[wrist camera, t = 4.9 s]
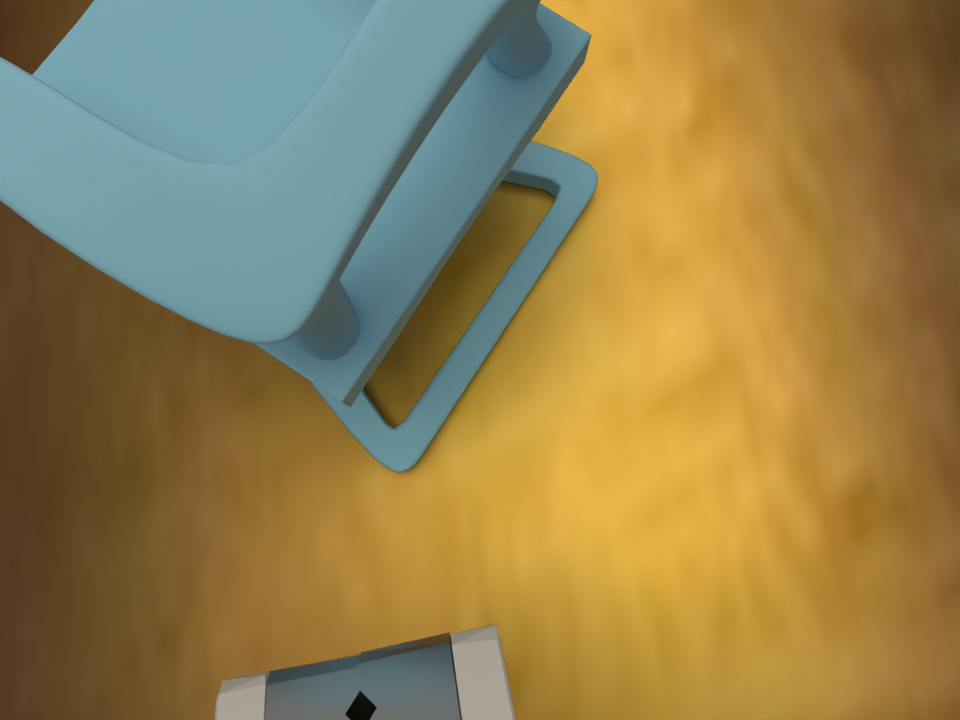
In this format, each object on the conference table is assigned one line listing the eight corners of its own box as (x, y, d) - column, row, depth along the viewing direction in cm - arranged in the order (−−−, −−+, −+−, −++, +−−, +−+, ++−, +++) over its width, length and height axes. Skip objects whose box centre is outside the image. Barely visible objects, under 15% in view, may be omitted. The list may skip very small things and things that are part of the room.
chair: (294, -5, 21) (58, -646, 9) (601, 188, 20) (778, -226, 8) (93, 270, 20) (-464, -39, 8) (407, 480, 19) (301, 476, 8)
